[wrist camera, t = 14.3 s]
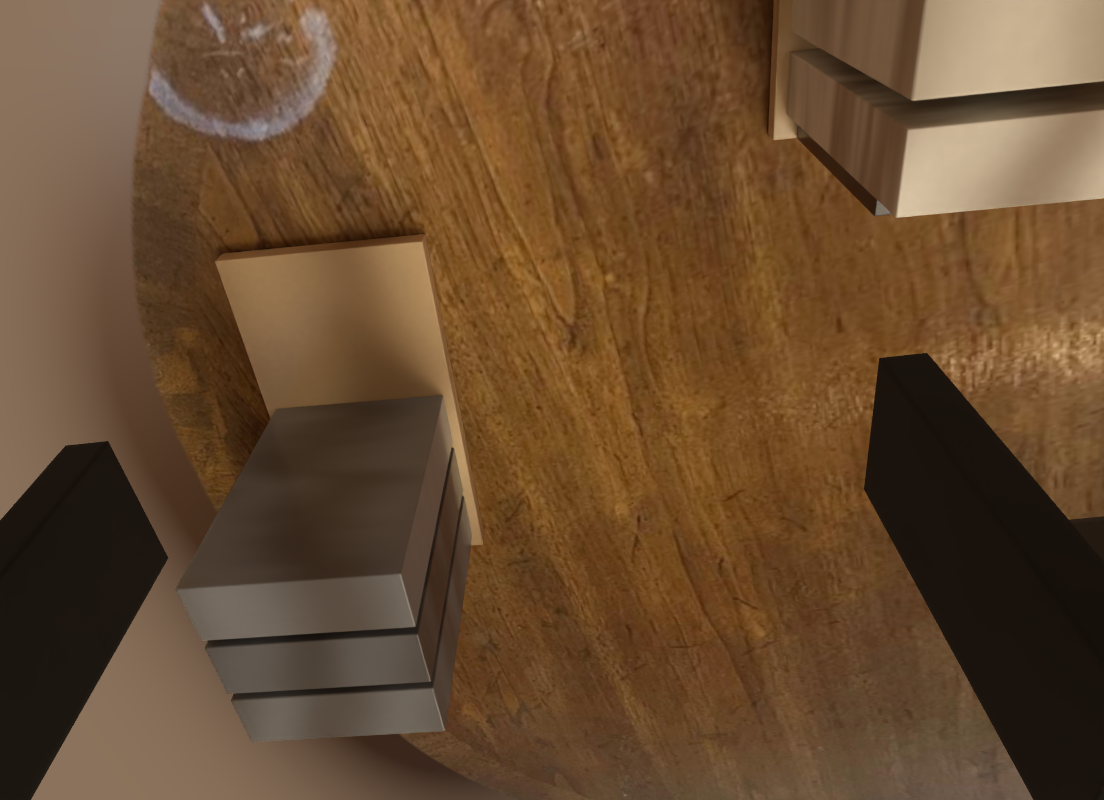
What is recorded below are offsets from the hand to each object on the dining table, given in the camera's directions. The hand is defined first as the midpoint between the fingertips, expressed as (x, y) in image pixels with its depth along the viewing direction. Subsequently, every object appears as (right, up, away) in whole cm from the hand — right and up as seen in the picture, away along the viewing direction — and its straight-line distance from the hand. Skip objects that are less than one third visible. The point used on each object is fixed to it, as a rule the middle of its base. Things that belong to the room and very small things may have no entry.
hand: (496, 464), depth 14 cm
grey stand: (-9, +1, +29) cm, 31 cm away
